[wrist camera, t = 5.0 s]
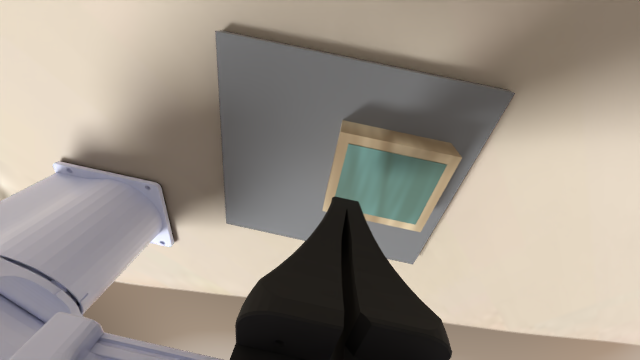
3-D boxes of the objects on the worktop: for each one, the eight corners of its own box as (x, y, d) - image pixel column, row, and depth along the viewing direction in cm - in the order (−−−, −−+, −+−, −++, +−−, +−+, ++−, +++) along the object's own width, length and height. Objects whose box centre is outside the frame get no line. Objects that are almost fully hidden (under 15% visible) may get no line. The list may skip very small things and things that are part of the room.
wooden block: (322, 211, 17) (420, 232, 17) (340, 132, 14) (462, 158, 14) (325, 194, 19) (415, 213, 19) (342, 119, 16) (451, 143, 16)
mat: (230, 217, 23) (226, 223, 22) (221, 30, 15) (215, 30, 14) (411, 257, 23) (412, 264, 22) (507, 89, 14) (515, 93, 14)
